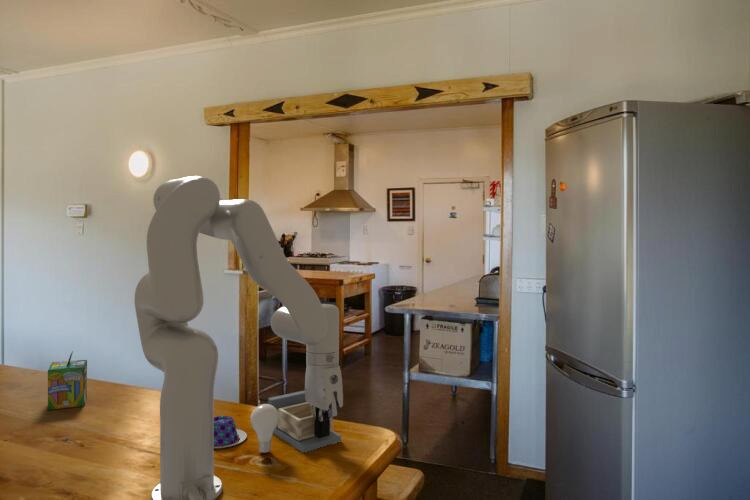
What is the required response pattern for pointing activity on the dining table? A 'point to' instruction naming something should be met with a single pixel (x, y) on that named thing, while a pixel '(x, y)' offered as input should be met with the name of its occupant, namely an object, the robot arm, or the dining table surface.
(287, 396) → the base
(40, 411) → the dining table surface
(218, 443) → the pudding
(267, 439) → the lightbulb
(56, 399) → the chalk box
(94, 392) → the dining table surface
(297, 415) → the box
